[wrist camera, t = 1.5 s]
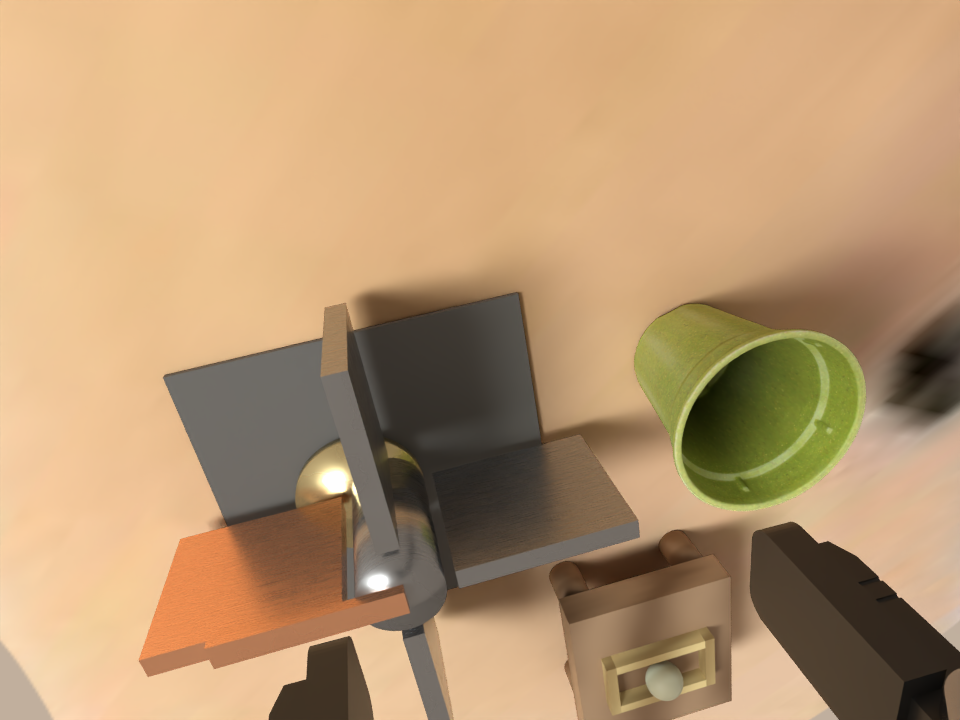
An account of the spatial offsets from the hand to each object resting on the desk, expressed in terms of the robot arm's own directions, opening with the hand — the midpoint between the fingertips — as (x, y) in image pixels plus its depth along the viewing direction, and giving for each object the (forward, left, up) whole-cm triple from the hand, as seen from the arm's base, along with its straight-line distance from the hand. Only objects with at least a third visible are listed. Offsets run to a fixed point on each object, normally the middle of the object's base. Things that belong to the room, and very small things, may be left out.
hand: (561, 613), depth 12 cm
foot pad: (+4, +11, -22) cm, 25 cm away
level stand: (-9, +26, -22) cm, 35 cm away
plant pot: (-14, +8, -22) cm, 27 cm away
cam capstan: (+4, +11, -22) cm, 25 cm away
